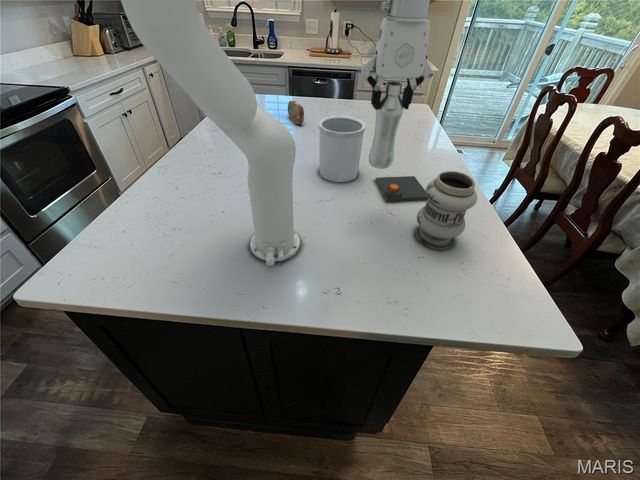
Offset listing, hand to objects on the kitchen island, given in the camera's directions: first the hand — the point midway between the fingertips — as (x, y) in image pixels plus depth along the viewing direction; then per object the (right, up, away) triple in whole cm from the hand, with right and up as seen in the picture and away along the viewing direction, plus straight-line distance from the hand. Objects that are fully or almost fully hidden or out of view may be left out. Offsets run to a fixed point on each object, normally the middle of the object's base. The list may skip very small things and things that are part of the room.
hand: (390, 106), depth 68 cm
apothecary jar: (+15, -30, +12) cm, 36 cm away
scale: (+11, -14, +30) cm, 34 cm away
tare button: (+7, -15, +24) cm, 29 cm away
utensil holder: (-10, -7, +37) cm, 39 cm away
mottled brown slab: (-28, +26, +73) cm, 82 cm away
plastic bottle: (0, -11, +10) cm, 15 cm away
